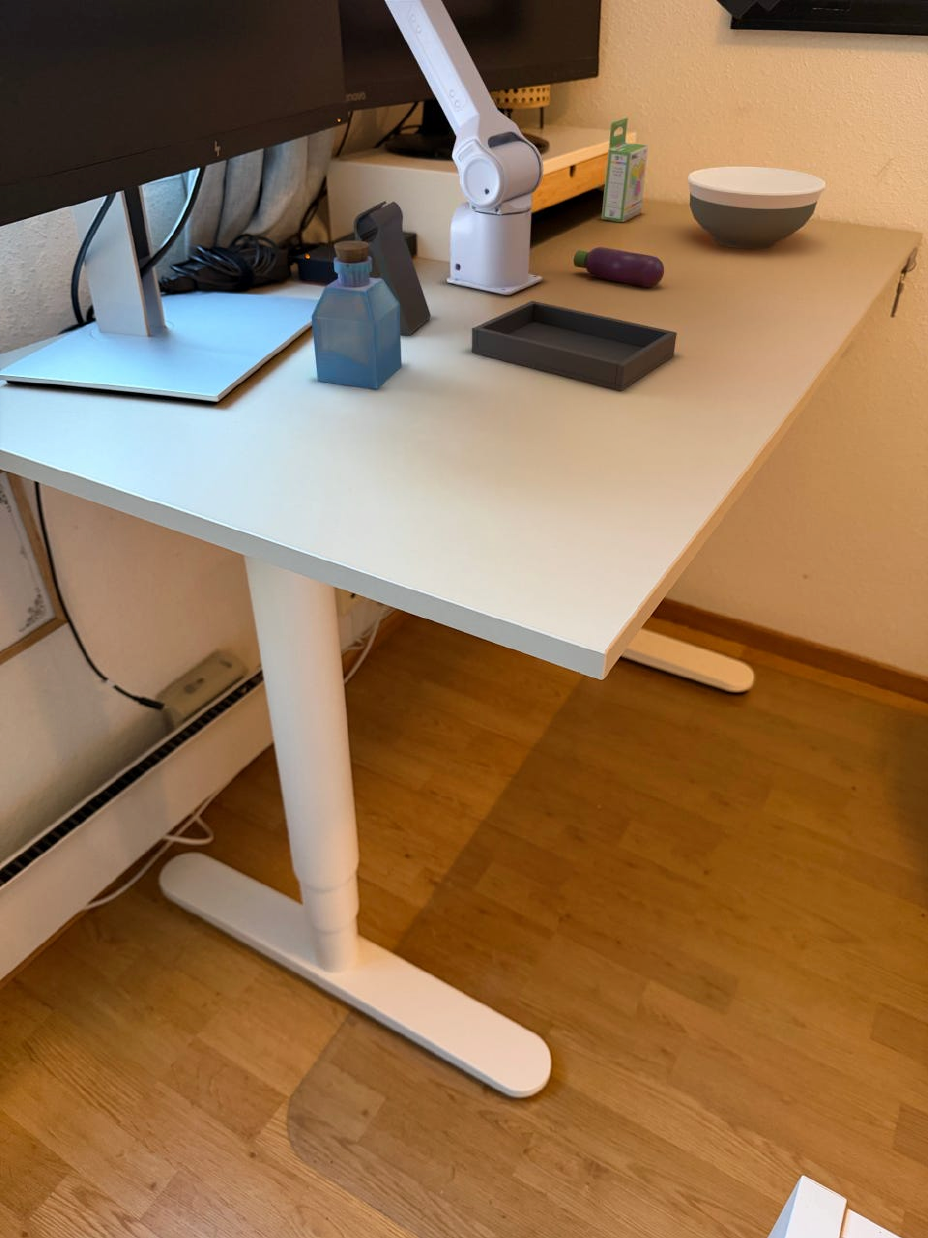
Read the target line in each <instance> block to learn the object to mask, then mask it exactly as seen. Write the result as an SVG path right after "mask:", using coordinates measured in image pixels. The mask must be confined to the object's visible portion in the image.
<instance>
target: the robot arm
mask: <svg viewBox="0 0 928 1238" xmlns="http://www.w3.org/2000/svg"><path fill="white" fill-rule="evenodd" d="M384 1H385V4H386V6H387V7H388V9H389V11H390V13H391V15H392V17H393V18H394V21H395V22H396V25H397V26H398V28H399V30H400V32H401V34H402V36H403V38H404V40H405V42H406V43H407V45H408V47H409V49H410V51H411V53H412V55H413V57H414V59H415V60H416V62H417V64H418V66H419V68H420V71H421V72H422V74H423V75H424V77H425V79H426V81H427V83H428V85H429V87H430V89H431V91H432V93H433V95H434V96H435V98H436V100H437V102H438V104H439V106H440V107H441V109H442V111H443V113H444V116H445V117H446V120H447V121H448V123H449V125H450V127H451V129H452V130H453V133H454V135H455V136H456V139H455V143H454V146H453V150H452V154H451V158H452V160H453V162H454V164H455V166H456V167H457V172H458V175H459V183H460V188H461V192H462V194H463V196H464V198H465V200H467V201H465V202H463V203H461V204H459V206H457V208H456V209H455V211H454V213H453V215H452V218H451V222H450V228H449V229H450V230H449V240H450V241H449V246H450V247H449V248H450V249H449V250H450V251H449V253H450V254H449V256H450V257H449V259H450V260H449V264H450V267H449V268H450V269H449V270H450V273H449V274H450V275H449V277H446V282H447V283H449V284H452V285H453V284H454V285H458V286H462V287H467V288H472V289H476V290H481V291H485V292H490V293H494V294H498V295H503V296H504V295H505V296H510V295H513V294H515V293H517V292H519V291H522V290H524V289H527V288H529V287H531V286H533V285H535V284H538V283H540V282H542V281H543V277H542V276H541V275H535V274H531V273H530V253H531V252H530V251H531V230H532V229H531V227H532V207H533V206H532V205H533V204H532V203H533V193H534V192H536V191H537V189H538V188H539V187H540V185H541V183H542V180H543V176H544V161H543V158H542V155H541V153H540V151H539V150H538V148H537V147H536V146H535V144H533V143H532V142H530V141H529V140H528V139H527V138H526V137H525V136H524V135H523V134H522V132H521V130H520V128H519V126H518V125H517V123H516V122H514V121H513V120H512V119H510V118H509V117H508V116H506V115H505V114H503V113H502V112H501V111H500V110H498V108H497V106H496V104H495V102H494V99H493V98H492V96H491V94H490V92H489V90H488V89H487V87H486V84H485V83H484V81H483V78H482V77H481V75H480V73H479V71H478V68H477V67H476V64H475V63H474V61H473V60H472V57H471V56H470V55H471V54H470V53H469V51H468V50H467V47H466V46H465V44H464V42H463V40H462V37H461V36H460V34H459V32H458V30H457V28H456V26H455V24H454V22H453V20H452V18H451V16H450V14H449V12H448V10H447V8H446V7H445V5H444V3H443V1H442V0H384ZM780 1H781V0H716V2H717V3H718V4H720V6H722V8H723V9H724V10H725V11H726V12H728V14H730V15H731V16H732V17H733V18H734V19H736V20H739V19H741V18H742V17H743V15H744V14H745V13H746V12H748V11H749V9H750V8H752V7H753V5H754V4H755V3H758V4H759V5H760V6H761V8H763V9H764V10H765V11H767V12H768V11H771V10H772V9H773V8H774V7H775V6H776V5H777V4H778V3H779V2H780Z"/></svg>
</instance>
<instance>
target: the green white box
mask: <svg viewBox="0 0 928 1238" xmlns="http://www.w3.org/2000/svg"><path fill="white" fill-rule="evenodd" d="M628 119H629V118H628V117H625V118H621V119H619V120H616V121H612V122H611V123H610V131H609V141H608V142H609V143H608V150H607V162H606V172H605V182H604V191H603V199H602V200H603V203H602V210H601V211H602V212H601V220H606V221H611V222H616V223H625V222H627V221H629V220H631V219H632V218H635V217H637V216H638V215H640V214H641V213H642V205H643V195H644V187H645V176H646V169H647V159H648V158H647V157H648V150H649V145H646V144H639V143H629V142H626V140H627V139H626V138H627V129H628V128H627V127H628V121H629V120H628ZM619 128H622V132H621V133H620V134H617V135H615V132H616V131H617V129H619Z"/></svg>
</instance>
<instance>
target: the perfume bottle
mask: <svg viewBox="0 0 928 1238" xmlns="http://www.w3.org/2000/svg"><path fill="white" fill-rule="evenodd" d="M333 246H334V250H335V255H336V257H334V258H333V267H334V272H335V273H336V274H337V279H335V280H333V281H332V282H330V283H329V284H327V285H325V287H324V288H323V290H322V293H321V296H320V297H319V299H318V300H317V301H318V302H317V303H316V305H315V307H314V308H315V309H313V312H312V314H311V325H312V326H311V327H312V336H313V337H312V338H313V345H314V356H315V365H316V366H315V367H316V376H317V381H318V382H321V383H330V384H337V385H343V386H351V387H358V388H365V389H372V390H378V389H379V388H380V387H381V386H382V385H383V384H385V383H386V382H387V381H388V380H390V378H391V377H392V376H393V375H394V374H395V373H397V372H398V371H399V370H400V369H401V368H402V366H403V365H402V361H403V360H402V341H401V339H402V338H401V337H402V335H400V311H399V303H398V301H397V300H396V298H395V297H394V295H393V294H392V292H391V291H390V289H389V288H388V286H387V285H386V283H385V282H384V280H383V279H381V278H378V279H377V278H369V272H371V271H372V259H371V257H369V256H368V250H369V244H368V243H367V242H363V241H355V240H344V241H339V242H336V243H334V245H333Z"/></svg>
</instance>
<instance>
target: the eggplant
mask: <svg viewBox="0 0 928 1238" xmlns="http://www.w3.org/2000/svg"><path fill="white" fill-rule="evenodd" d="M573 265H574V266H575V267H576V268H581V269H586V271H587V273H588V274H589V275H590V276H591V277H594V278H597V279H603V280H607V281H612V282H619V283H623V284H628V285H633V286H638V287H643V288H653V287H655V286H657V285H658V284H659V283H660V282H661V281H662V279H663V278H664V275H665V266H664V264H663V262H662V260H661V259H660V258H658V257H657V256H653V255H648V254H644V253H637V252H631V251H626V250H621V249H615V248H610V247H603V246H598V247H597V246H596V247H595V248H592V249H591V250H589V251H587V250H586V251H585V250H581V249H579V250H577V251H576V252H575V254H574V257H573Z"/></svg>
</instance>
